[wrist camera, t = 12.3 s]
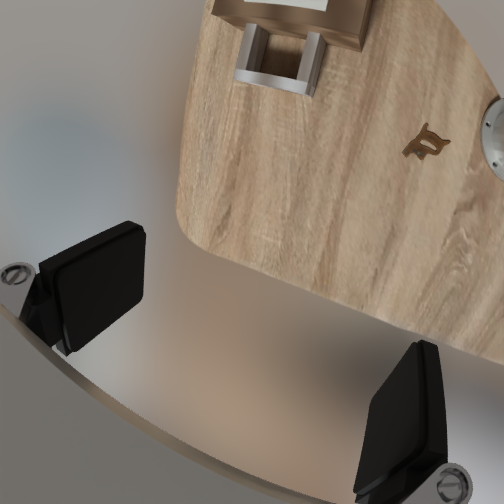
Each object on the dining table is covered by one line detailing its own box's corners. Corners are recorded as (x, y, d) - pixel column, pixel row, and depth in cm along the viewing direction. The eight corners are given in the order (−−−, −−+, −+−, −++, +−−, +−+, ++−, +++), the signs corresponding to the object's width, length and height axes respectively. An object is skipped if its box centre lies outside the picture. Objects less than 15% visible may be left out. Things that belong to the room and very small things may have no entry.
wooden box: (379, -24, 27) (377, -54, 19) (348, 108, 37) (342, 101, 30) (259, -40, 31) (236, -65, 24) (228, 80, 42) (196, 72, 34)
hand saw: (345, 260, 46) (345, 262, 46) (323, 240, 47) (322, 242, 46) (451, 143, 34) (452, 143, 33) (427, 119, 34) (428, 119, 33)
